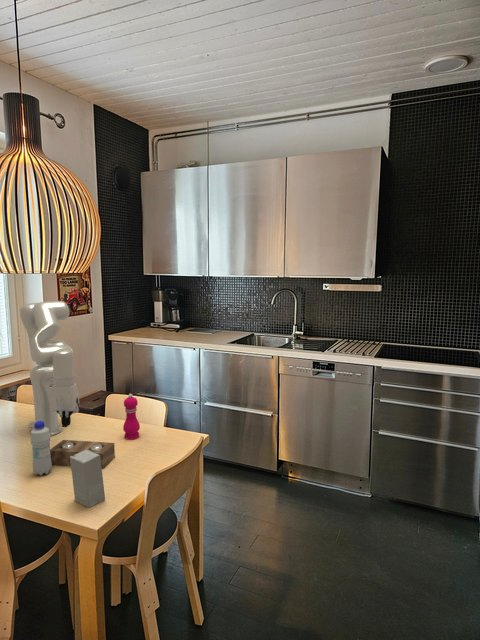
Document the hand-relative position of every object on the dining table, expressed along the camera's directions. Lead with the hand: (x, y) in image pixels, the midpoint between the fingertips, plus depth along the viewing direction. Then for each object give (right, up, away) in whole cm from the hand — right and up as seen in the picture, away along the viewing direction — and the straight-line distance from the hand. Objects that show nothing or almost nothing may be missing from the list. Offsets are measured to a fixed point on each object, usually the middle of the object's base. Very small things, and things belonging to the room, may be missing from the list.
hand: (66, 425), depth 165 cm
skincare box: (+19, -18, -27) cm, 38 cm away
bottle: (-5, -16, -9) cm, 19 cm away
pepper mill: (+20, -11, +24) cm, 33 cm away
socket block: (+6, -14, 0) cm, 15 cm away
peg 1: (+1, -14, +1) cm, 14 cm away
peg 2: (+12, -14, -1) cm, 19 cm away
